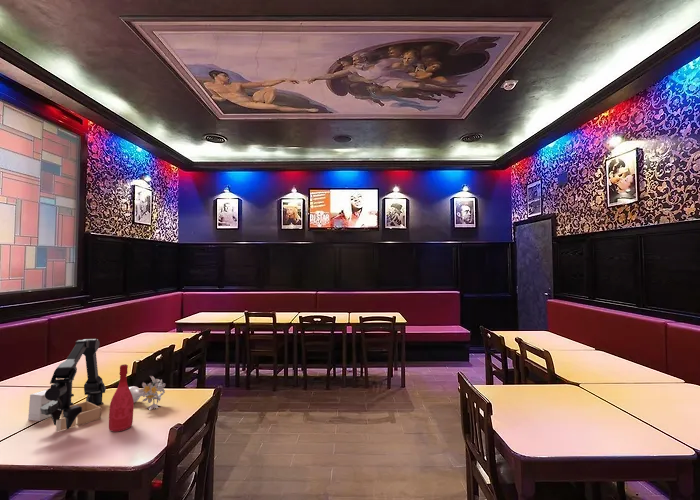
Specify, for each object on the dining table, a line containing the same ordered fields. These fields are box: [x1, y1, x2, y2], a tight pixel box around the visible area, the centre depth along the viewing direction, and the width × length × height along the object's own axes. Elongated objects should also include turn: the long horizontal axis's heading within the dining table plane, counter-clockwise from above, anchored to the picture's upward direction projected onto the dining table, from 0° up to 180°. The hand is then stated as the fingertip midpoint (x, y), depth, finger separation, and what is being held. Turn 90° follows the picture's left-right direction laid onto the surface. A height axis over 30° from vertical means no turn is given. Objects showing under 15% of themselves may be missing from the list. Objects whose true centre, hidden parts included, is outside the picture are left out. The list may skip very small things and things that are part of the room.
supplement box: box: [27, 389, 52, 422], centre depth 180 cm, size 7×7×13 cm
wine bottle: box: [108, 364, 135, 433], centre depth 170 cm, size 10×10×30 cm
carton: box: [70, 400, 102, 427], centre depth 180 cm, size 10×16×6 cm, turn 58°
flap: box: [55, 418, 77, 433], centre depth 167 cm, size 1×8×5 cm, turn 149°
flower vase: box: [128, 375, 166, 411], centre depth 199 cm, size 13×18×25 cm
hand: (61, 427), depth 165 cm, fingers open, 9 cm apart
